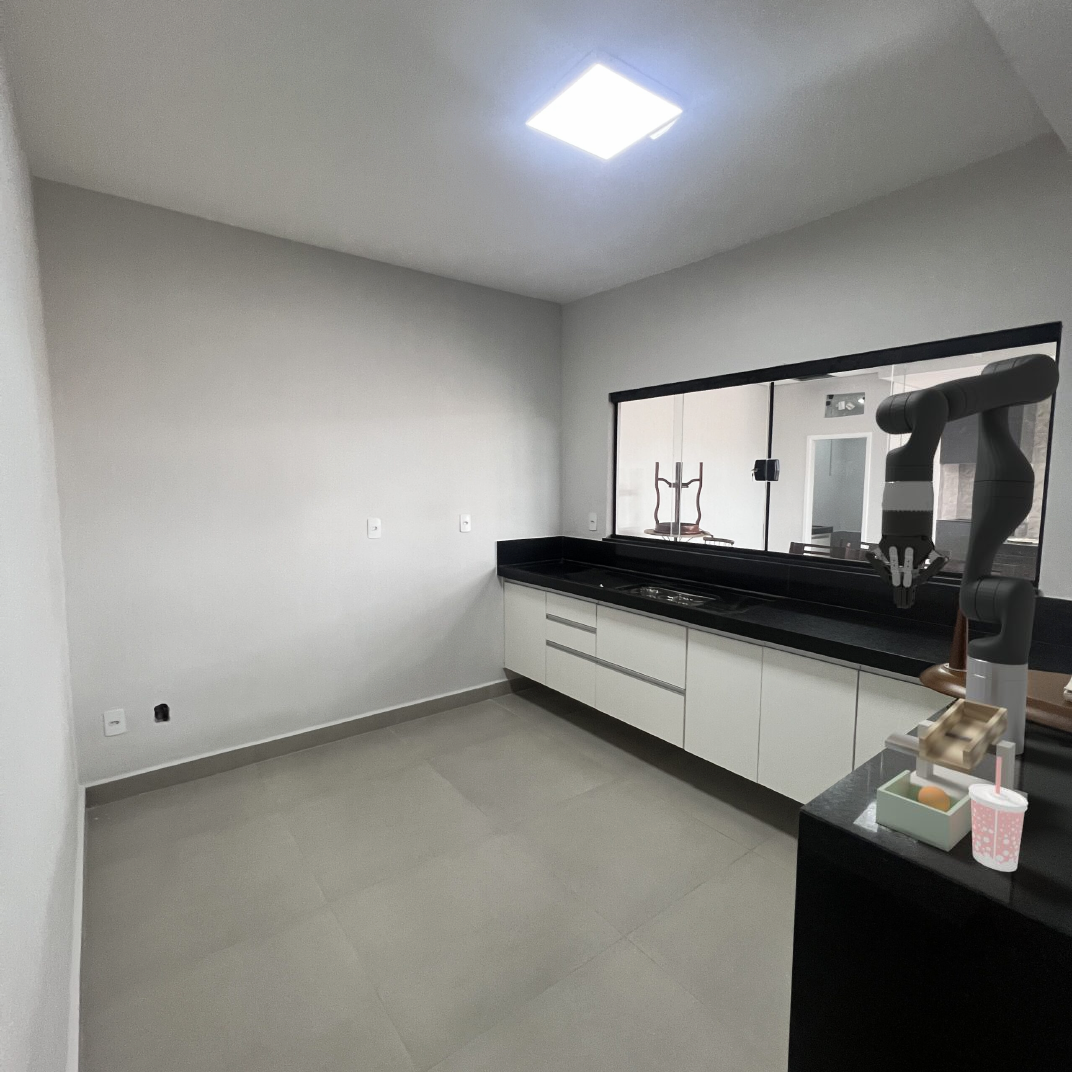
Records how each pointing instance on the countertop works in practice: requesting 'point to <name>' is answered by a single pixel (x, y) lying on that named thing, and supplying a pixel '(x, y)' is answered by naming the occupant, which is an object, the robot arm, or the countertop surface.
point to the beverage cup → (996, 824)
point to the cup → (922, 814)
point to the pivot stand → (958, 781)
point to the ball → (934, 798)
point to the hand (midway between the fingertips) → (903, 607)
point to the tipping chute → (956, 736)
